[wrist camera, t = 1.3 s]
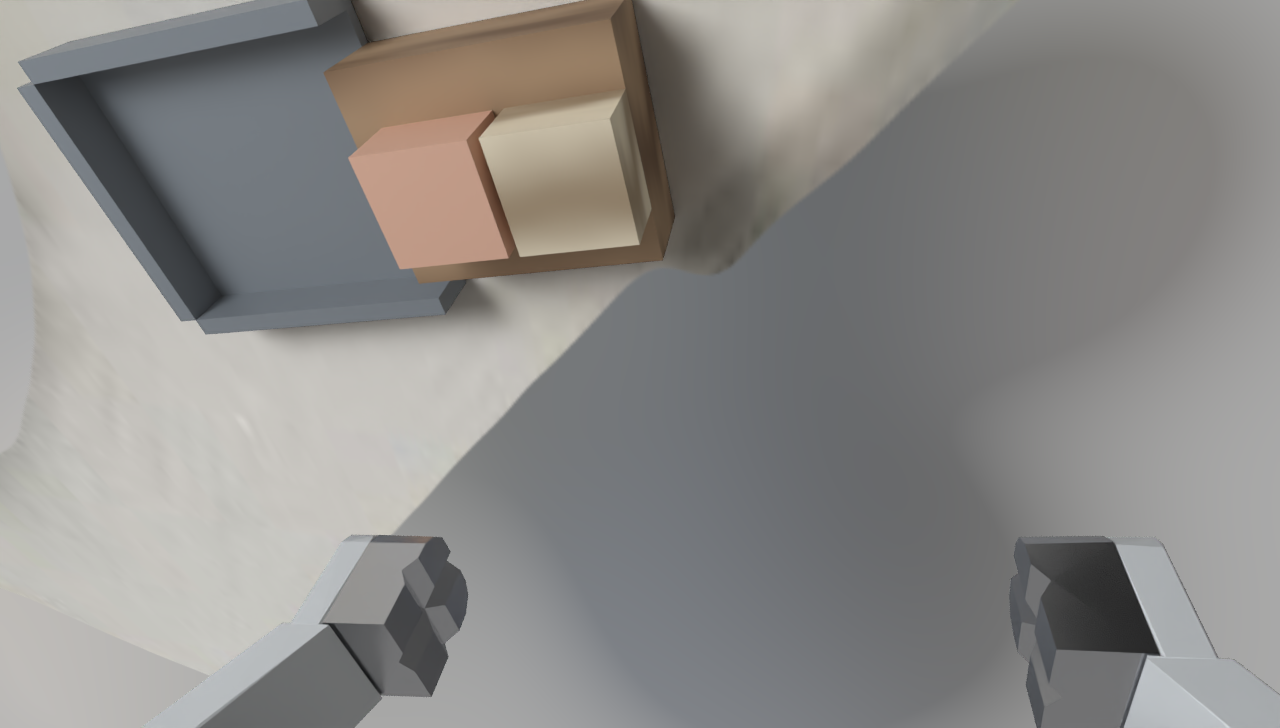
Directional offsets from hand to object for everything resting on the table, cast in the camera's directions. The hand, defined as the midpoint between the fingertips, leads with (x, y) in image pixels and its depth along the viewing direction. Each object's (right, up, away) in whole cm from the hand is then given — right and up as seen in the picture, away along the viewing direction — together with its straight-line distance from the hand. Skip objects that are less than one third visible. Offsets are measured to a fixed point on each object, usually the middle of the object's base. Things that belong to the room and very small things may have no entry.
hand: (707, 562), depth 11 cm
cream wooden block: (-3, +11, +19) cm, 23 cm away
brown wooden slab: (-6, +13, +23) cm, 28 cm away
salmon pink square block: (-9, +11, +21) cm, 25 cm away
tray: (-19, +13, +27) cm, 35 cm away
